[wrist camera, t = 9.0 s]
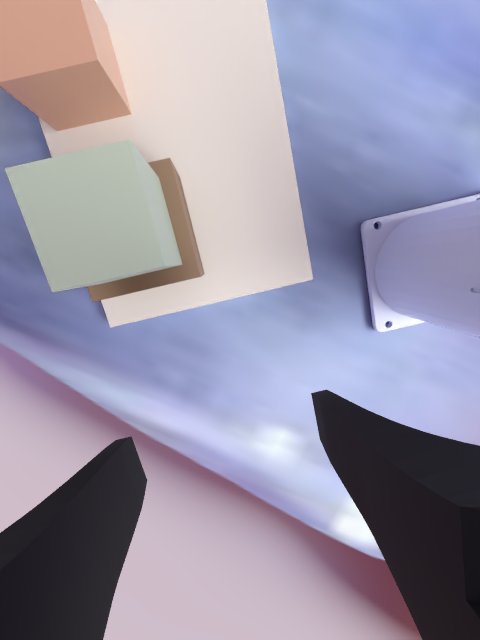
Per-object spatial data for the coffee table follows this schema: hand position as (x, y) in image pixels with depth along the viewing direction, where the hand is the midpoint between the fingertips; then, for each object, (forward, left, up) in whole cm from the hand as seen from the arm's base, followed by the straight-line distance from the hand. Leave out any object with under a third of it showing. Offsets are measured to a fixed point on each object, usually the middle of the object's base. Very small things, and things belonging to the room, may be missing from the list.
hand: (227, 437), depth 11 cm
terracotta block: (+4, -18, -9) cm, 20 cm away
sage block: (+3, -9, -6) cm, 11 cm away
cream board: (0, -13, -10) cm, 16 cm away
